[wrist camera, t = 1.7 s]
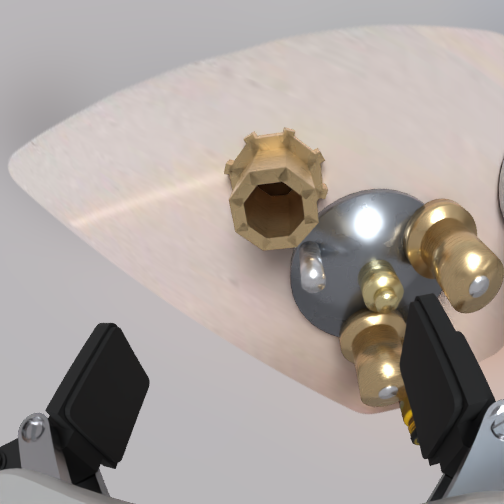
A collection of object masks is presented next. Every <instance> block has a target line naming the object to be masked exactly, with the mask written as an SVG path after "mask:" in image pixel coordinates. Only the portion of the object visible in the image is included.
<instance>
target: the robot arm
mask: <svg viewBox="0 0 504 504" xmlns="http://www.w3.org/2000/svg"><path fill="white" fill-rule="evenodd" d="M499 200H500V208H501V211H502V215H503V218H504V161H503V164H502V169H501V173H500V181H499ZM400 372H401V376H402V379H403V382H404V386H405V389H406V393H407V396H408V400H409V404H410V407H411V411H412V415H413V419H414V423H415V427H416V431H417V435H418V440H419V444H420V448H421V453H422V456H423V458H424V459H428V460H429V465H430V466H431V465H434V464H438V463H440V466H441V471H442V473H443V475H442V477H441V479H440V480H439V482H438V484H437V485H436V487H435V489H434V491H433V492H432V494H431V496H430V497H429V499H428V500H427V502H426V503H423V504H504V399H503V400H499V401H497V402H496V401H495V398H494V396H493V394H492V392H491V390H490V387H489V385H488V383H487V381H486V378H485V376H484V374H483V372H482V370H481V368H480V366H479V364H478V362H477V360H476V358H475V356H474V354H473V352H472V350H471V348H470V346H469V344H468V342H467V341H466V339H465V337H464V335H463V334H462V333H461V332H459V331H455V329H454V327H453V325H452V323H451V321H450V320H449V318H448V316H447V314H446V312H445V311H444V309H443V307H442V305H441V304H440V302H439V300H438V299H437V297H436V295H435V294H433V293H431V294H425V295H420V296H416V297H415V300H414V301H413V302H410V304H409V310H408V317H407V324H406V330H405V336H404V341H403V347H402V352H401V357H400ZM148 388H149V378H148V376H147V374H146V373H145V371H144V369H143V368H142V366H141V364H140V362H139V361H138V359H137V357H136V356H135V354H134V352H133V350H132V349H131V347H130V345H129V343H128V341H127V339H126V338H125V336H124V334H123V332H122V330H121V329H120V328H119V327H117V325H116V324H114V323H100V324H98V325H97V326H96V328H95V329H94V331H93V333H92V334H91V335H90V337H89V338H88V340H87V341H86V343H85V345H84V346H83V348H82V349H81V351H80V353H79V354H78V356H77V357H76V359H75V361H74V363H73V364H72V366H71V367H70V369H69V371H68V372H67V374H66V375H65V377H64V379H63V381H62V382H61V384H60V386H59V387H58V389H57V391H56V393H55V394H54V396H53V398H52V400H51V401H50V403H49V405H48V407H47V408H46V412H47V413H48V414H49V415H50V416H49V418H47V417H46V416H45V415H44V414H42V413H34V414H31V415H30V416H28V417H27V418H26V419H25V420H24V421H23V422H22V423H21V425H20V427H19V431H18V438H17V439H15V440H13V441H12V442H10V443H8V444H5V445H3V446H1V447H0V504H133V503H129V502H126V501H122V500H119V499H115V498H112V497H110V495H109V493H108V490H107V488H106V485H105V483H104V480H103V478H102V475H101V472H100V469H99V467H100V464H102V465H103V466H106V467H110V468H114V469H116V466H117V463H118V462H120V461H121V460H122V458H123V455H124V452H125V449H126V446H127V444H128V441H129V438H130V436H131V433H132V430H133V427H134V425H135V422H136V419H137V417H138V414H139V411H140V409H141V406H142V404H143V401H144V398H145V396H146V393H147V391H148Z"/></svg>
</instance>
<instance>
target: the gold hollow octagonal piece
mask: <svg viewBox="0 0 504 504" xmlns="http://www.w3.org/2000/svg"><path fill="white" fill-rule="evenodd" d="M294 134H295V131H294V130H292V129H289V128H285V127H284V130H283V132H282V133H275V134H267V135H260V136H257V135H256V133H255V131H254V132H253V133H251V134H249V135H248V136H246V137H245V138H244V141H245V142H246V146H245V147H244V148H243V150H242V151H241V152H240V154H239V155H238V156H237V158H236V159H235V161H233V160H229V161H228V162H227V163H226V166H225V171H224V174H228V175H230V180H231V185H232V190H233V192H232V194H231V196H230V198H229V203H230V208H231V213H232V218H233V222H234V227H235V232H236V233H238V234H239V235H241V236H242V237H244V238H245V239H247V240H248V241H250V242H251V243H253V244H254V245H256V246H257V247H258V248H260V249H261V250H263V251H265V250H274V249H284V248H293V247H297V246H298V245H299V244H300V243H301V242H302V241H303V240H304V238H305V237H306V236H307V235H308V234H309V233H310V232H311V231H312V229H313V228H314V227H315V226H316V225H317V224H318V223H319V221H318V210H317V200H318V199H319V198H323V199H325V198H326V194H327V191H328V189H327V187H326V184H323V183H322V175H321V166H320V163H321V162H323V161H325V160H324V158H323V156H322V154H321V152H320V151H319V149H318V148H317V149H315V150H312V149H311V148H309V147H308V146H307V145H305V144H304V143H303V142H301V141H300V140H299V139H297V138H296V137H295V136H294ZM275 182H284V183H285V184H286V185H288V186H289V187H290V188H292V190H291V191H290V192H289V194H286V195H277V196H270V195H269V194H267V193H266V192H265V191H263V190H262V189H260V188H259V187H258V186H257V185H260V184H267V183H275Z"/></svg>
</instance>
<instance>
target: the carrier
mask: <svg viewBox="0 0 504 504" xmlns="http://www.w3.org/2000/svg"><path fill="white" fill-rule="evenodd" d="M318 221H319V223H318V224H317V225H316V226H315V227H314V228H313V229H312V231H311V232H310V233H309V234H308V235H307V236H306V237H305V238H304V240H303V241H302V242H301V243H300V244H299V245H298V246H297V247H295V249H294V252H293V256H292V260H291V288H292V292H293V296H294V299H295V302H296V304H297V306H298V307H299V309H300V311H301V312H302V314H303V315H304V316H305V317H306V318H307V319H308V320H309V321H310V322H311V323H312V324H313V325H315V326H316V327H317V328H319V329H321V330H323V331H325V332H326V333H329V334H332V335H334V336H338V337H339V340H340V346H341V351H342V354H343V356H344V357H345V358H346V359H347V360H348V361H350V362H352V363H354V364H355V367H356V373H357V378H358V384H359V390H360V396H361V400H362V402H363V403H364V404H366V405H368V406H372V407H383V406H388V405H392V404H394V403H397V402H399V401H401V400H402V399H404V398H405V397H406V396H407V393H406V389H405V386H404V382H403V379H402V376H401V372H400V357H401V352H402V347H403V341H404V336H405V330H406V324H407V317H408V310H409V304H410V302H413V301H414V300H415V297H416V296H420V295H425V294H431V293H433V294H435V295H436V297H437V298H438V296H439V295H440V293H441V291H442V290H443V292H444V293H445V295H446V297H447V298H448V300H449V302H450V303H451V305H452V306H453V308H454V309H455V310H456V311H458V312H460V313H472V312H475V311H478V310H480V309H482V308H483V307H485V306H486V305H487V304H488V303H489V302H490V301H491V300H492V299H493V298H494V297H495V296H496V294H497V293H498V291H499V289H500V287H501V285H502V282H503V278H504V268H503V264H502V262H501V261H500V259H499V258H498V257H497V256H496V255H495V254H494V253H493V252H492V251H491V250H490V249H489V248H488V247H487V246H486V245H485V244H484V243H483V242H482V241H481V240H480V239H479V238H478V237H477V229H476V224H475V221H474V219H473V217H472V216H471V215H470V213H469V212H468V211H466V210H465V209H464V208H463V207H461V206H460V205H459V204H458V203H456V202H454V201H452V200H449V199H436V200H432V201H430V202H428V203H426V204H424V203H423V202H421V201H420V200H418V199H417V198H415V197H413V196H411V195H409V194H406V193H403V192H400V191H396V190H389V189H371V190H364V191H359V192H356V193H353V194H349V195H347V196H345V197H343V198H340V199H338V200H337V201H335V202H333V203H332V204H330V205H328V206H327V207H326V208H324V209H323V210H322V211H321V212H319V213H318Z"/></svg>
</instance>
